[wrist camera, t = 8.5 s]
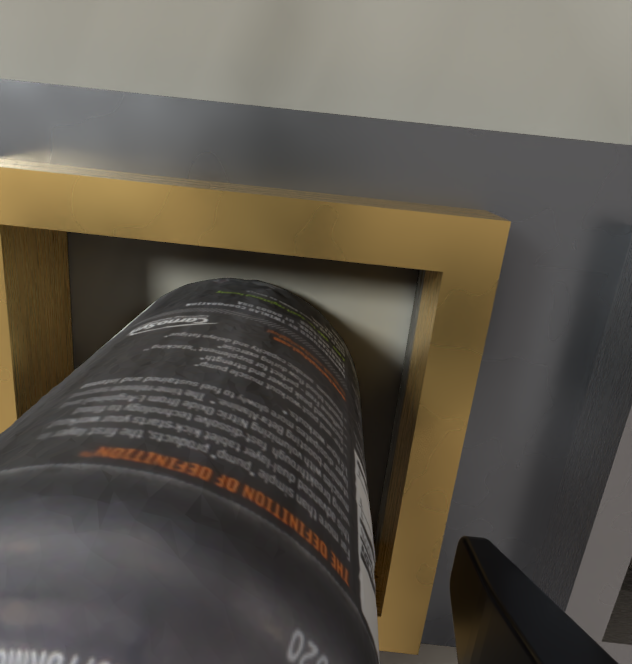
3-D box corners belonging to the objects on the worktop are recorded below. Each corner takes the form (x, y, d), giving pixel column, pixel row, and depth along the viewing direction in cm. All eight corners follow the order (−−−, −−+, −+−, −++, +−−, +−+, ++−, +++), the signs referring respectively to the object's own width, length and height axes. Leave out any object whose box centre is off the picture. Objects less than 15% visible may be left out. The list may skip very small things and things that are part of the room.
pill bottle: (71, 360, 13) (-1017, 1219, 3) (263, 221, 12) (-352, 807, 1) (220, 529, 15) (-97, 1531, 4) (406, 421, 13) (657, 1476, 3)
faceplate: (872, 669, 15) (969, 764, 13) (32, 575, 16) (-23, 652, 13) (1146, 201, 11) (1364, 216, 9) (-12, 79, 11) (-105, 62, 9)
